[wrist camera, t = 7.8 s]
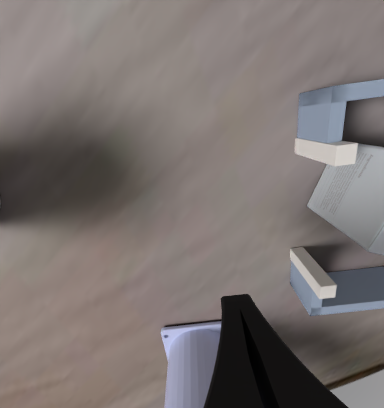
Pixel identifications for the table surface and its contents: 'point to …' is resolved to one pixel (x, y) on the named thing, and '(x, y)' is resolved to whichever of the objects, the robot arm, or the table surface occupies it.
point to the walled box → (336, 156)
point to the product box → (355, 198)
